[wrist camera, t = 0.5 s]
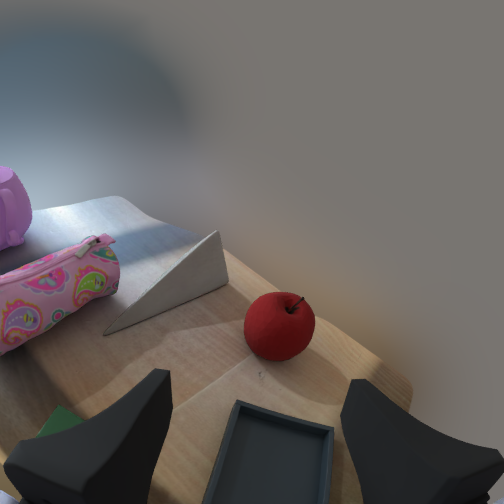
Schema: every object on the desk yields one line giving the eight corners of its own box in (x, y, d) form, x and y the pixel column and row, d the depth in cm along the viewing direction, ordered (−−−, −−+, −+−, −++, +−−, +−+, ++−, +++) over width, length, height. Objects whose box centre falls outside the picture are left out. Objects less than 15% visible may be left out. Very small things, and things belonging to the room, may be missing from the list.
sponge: (108, 491, 19) (104, 482, 17) (45, 453, 19) (34, 438, 17) (126, 456, 23) (125, 442, 21) (65, 422, 23) (58, 403, 21)
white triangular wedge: (162, 377, 32) (250, 268, 49) (112, 324, 31) (216, 228, 48) (132, 381, 39) (213, 289, 55) (92, 338, 37) (183, 254, 54)
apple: (277, 319, 48) (302, 268, 43) (311, 362, 42) (344, 311, 37) (225, 330, 42) (246, 273, 38) (257, 380, 36) (288, 326, 32)
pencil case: (90, 268, 43) (92, 216, 39) (128, 301, 41) (133, 247, 36) (-27, 326, 26) (-46, 269, 21) (1, 377, 23) (-23, 321, 19)
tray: (313, 546, 19) (323, 544, 18) (194, 523, 19) (197, 521, 18) (326, 434, 32) (334, 427, 31) (232, 407, 32) (237, 399, 31)
